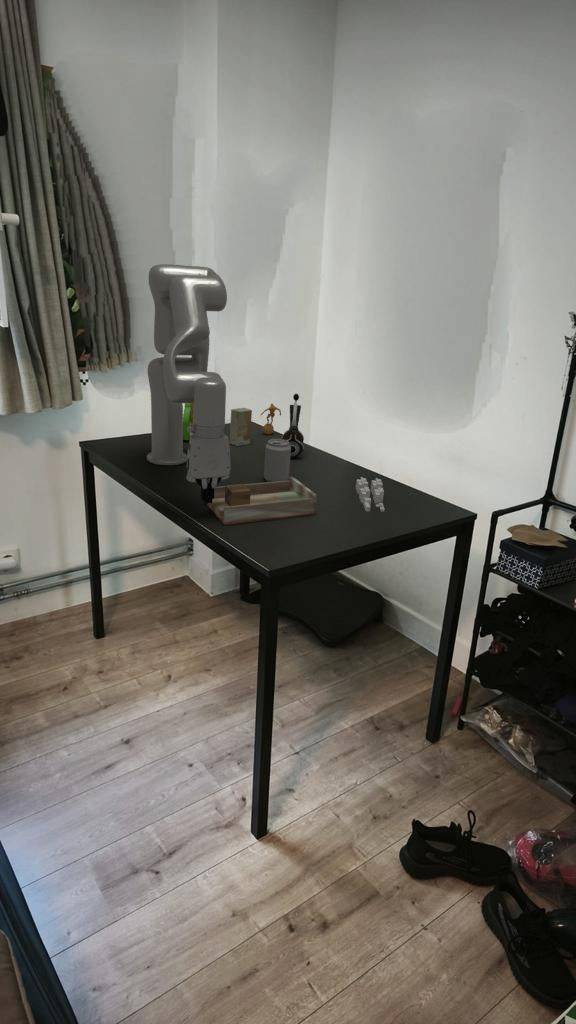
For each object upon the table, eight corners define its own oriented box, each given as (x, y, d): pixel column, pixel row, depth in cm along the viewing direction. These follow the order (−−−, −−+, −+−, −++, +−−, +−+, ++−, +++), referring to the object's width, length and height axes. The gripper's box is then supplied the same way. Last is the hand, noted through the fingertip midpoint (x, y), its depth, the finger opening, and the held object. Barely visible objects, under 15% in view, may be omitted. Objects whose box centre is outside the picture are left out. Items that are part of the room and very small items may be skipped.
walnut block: (224, 500, 163) (225, 485, 162) (242, 498, 165) (243, 483, 164) (231, 507, 159) (231, 492, 158) (249, 505, 161) (250, 490, 160)
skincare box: (237, 446, 217) (238, 411, 212) (228, 443, 220) (230, 409, 215) (251, 443, 222) (252, 409, 217) (242, 441, 224) (244, 407, 220)
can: (258, 479, 188) (260, 440, 183) (276, 474, 193) (278, 436, 188) (276, 486, 183) (278, 446, 178) (293, 481, 188) (296, 442, 184)
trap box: (205, 503, 167) (206, 484, 165) (291, 495, 177) (292, 476, 175) (224, 525, 155) (225, 504, 152) (315, 514, 165) (316, 494, 163)
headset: (281, 446, 222) (285, 390, 214) (303, 447, 222) (307, 392, 214) (279, 460, 206) (283, 400, 199) (302, 462, 206) (307, 402, 199)
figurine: (276, 432, 238) (278, 400, 234) (282, 436, 233) (284, 404, 229) (255, 433, 235) (257, 401, 230) (262, 437, 230) (263, 405, 225)
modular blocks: (355, 489, 186) (356, 476, 184) (378, 490, 186) (380, 478, 185) (365, 515, 168) (366, 501, 166) (390, 516, 168) (392, 502, 167)
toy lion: (193, 443, 217) (194, 399, 212) (177, 442, 217) (177, 398, 211) (198, 431, 232) (199, 390, 226) (183, 430, 232) (183, 389, 226)
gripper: (183, 436, 145) (182, 510, 152) (243, 433, 151) (240, 504, 158) (174, 428, 152) (174, 499, 158) (232, 425, 158) (230, 493, 165)
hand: (207, 501), depth 158 cm, fingers closed
